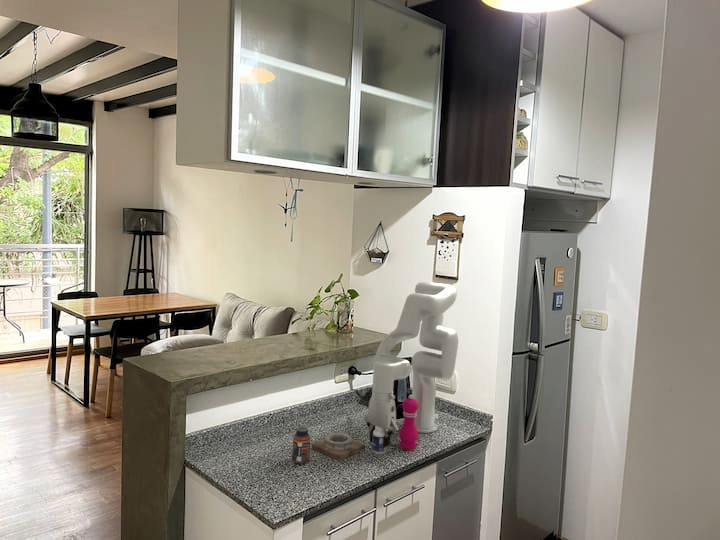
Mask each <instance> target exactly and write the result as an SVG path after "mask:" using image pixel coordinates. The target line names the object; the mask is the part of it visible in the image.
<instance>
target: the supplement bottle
mask: <svg viewBox="0 0 720 540" xmlns="http://www.w3.org/2000/svg"><path fill="white" fill-rule="evenodd" d="M291 451H292V455H291V456H292V457H291V460H292V462H294V463H295V464H298V465H304V464H307V463H308V462H309V461H310V454H311V453H310V452H311V435H310V434H309V428H308V427H306V426H299V427H297V428H296V431H295V434H293V436H292V450H291Z"/></svg>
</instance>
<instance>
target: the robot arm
mask: <svg viewBox="0 0 720 540" xmlns="http://www.w3.org/2000/svg"><path fill="white" fill-rule="evenodd" d="M456 300H457V290H456V287H455V286H453V285H452V284H446V283H440V282H432V281H421V282H417V284H416V285H415V288H414V293H410V294H409V295H408V296H406V299H405V302H404V305H403V308H402V311H401V314H400V316H399V320H398V323H397V326H396V327H395V329H393V330H392V331H391V332H390V333H389V334H387V335H386V336H385V337H384V338H383V340H382V341H381V342H380V344H379V345H378V347H377V350H376V353H375V356H374V360H373V373H372V387H371V389H372V391H371V393H372V394H371V397H370V399H369V403H368V410H367V414H366V415H365V416H364V417H363V420H364V422H365V423H366V426H367V428H368V431H369V443H372V439H373V431H374V430H375V425H376V426H378V427H381V428H384V433H385V436H384V439H383V447H387V448H388V447H389V446H390V445H391V436H393V434H395V433H397V432H398V431H399V427H398V425H397V408H396V401H395V399H396V395H394V384H395V383H394V382H395V381H398V380H404V379H406V378H408V377H409V376H410V375H411V373H412V389H411V391H412V392H411V393H412V394H411V395H413V399H415V400H416V401H417V402H418V409H417V411H416V412H417V414H416V415H417V416H416V417H415V426H416V428H417V431H418V433H421V434H423V433H424V434H426V433H427V434H428V433H429V434H431V433H434V432H436V431H437V430H438V425H437V424H436V423H435V420H436V419H438V418H439V414H438V413H435V409H436V408H435V406H436V393H437V384H436V382H435V379H438V380H443V381H445V380H446V381H447V380H450V379H452V376H453V375H454V373H455V372H454V371H455V367H456V366H455V365H456V362H457V361H456V359H457V356H458V355H457V354H458V347H459V335H458V333H457V332H456V330H454V329H452V328H450V327H445V326H444V325H443V322H444V313H446V311H447V310H448V309H450V308H451V307H452V306H453V305H454V303H455V302H456ZM418 335H419V339H418V340H419V345H420V346H421V347H423V348H427V349H430V350H435V351H439V352H441V353H436V352H431V351H427V350H420V351H417V352H415V353H414V354H413V356H412V357H411V363H410V361H409V360H407V359H406V358H401V357H397V356H394V355H393V356H392V355H390V352H391V351H392V349H393V348H394V347H395V346H396V345H397V344H399V343H401V342H404V341H408V340H411V339H415V338H416V337H418ZM434 378H435V379H434Z"/></svg>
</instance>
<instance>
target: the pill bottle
mask: <svg viewBox="0 0 720 540" xmlns="http://www.w3.org/2000/svg"><path fill="white" fill-rule="evenodd" d="M384 436H385V433H384V428H381V427H378V426H376V425H375V430H374V431H373V439H372V442H371V451H372V452H373V453H374V454H377V455H383V454H386V453H387V451H388V446H387V447H383V439H384Z"/></svg>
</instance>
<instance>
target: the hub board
mask: <svg viewBox="0 0 720 540" xmlns="http://www.w3.org/2000/svg"><path fill="white" fill-rule="evenodd" d="M310 449H313V450H316V451H318V452H320V453H322V454H324V455H327V456H330V457H332V458H333V459H335V460H339V461H341V460H343V459H345V458H348V457H350V456H352V455H354V454H356V453H358V452H360V451H363V450H366V443H365V444H364V443H363V442H360V441H358V440H356V439H355V440H354V439H353V437H352V435H350V434H347V433H345V432H344V433H343V432H333V433H332V432H331V433H329V434H326V435H325V436H324V438H322V439H320V440H317V441H315V442H312V443H310Z"/></svg>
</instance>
